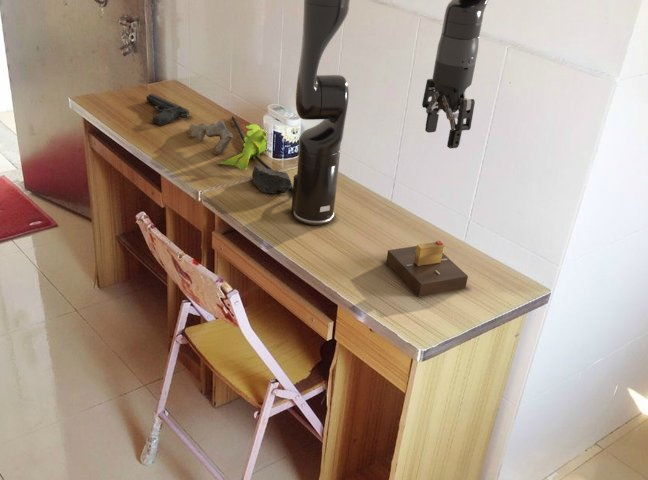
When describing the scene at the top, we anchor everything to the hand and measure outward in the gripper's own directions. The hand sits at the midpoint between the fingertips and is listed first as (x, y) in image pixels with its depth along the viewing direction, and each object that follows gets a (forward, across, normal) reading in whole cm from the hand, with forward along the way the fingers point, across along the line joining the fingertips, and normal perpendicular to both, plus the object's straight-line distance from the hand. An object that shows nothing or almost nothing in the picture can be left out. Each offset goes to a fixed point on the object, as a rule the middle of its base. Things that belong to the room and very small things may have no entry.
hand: (441, 139), depth 156 cm
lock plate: (+26, +9, -4) cm, 28 cm away
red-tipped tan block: (+23, +9, -4) cm, 25 cm away
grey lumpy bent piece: (+26, -71, -28) cm, 80 cm away
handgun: (+26, -97, -35) cm, 106 cm away
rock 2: (+26, -39, -21) cm, 52 cm away
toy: (+26, -57, -19) cm, 66 cm away
